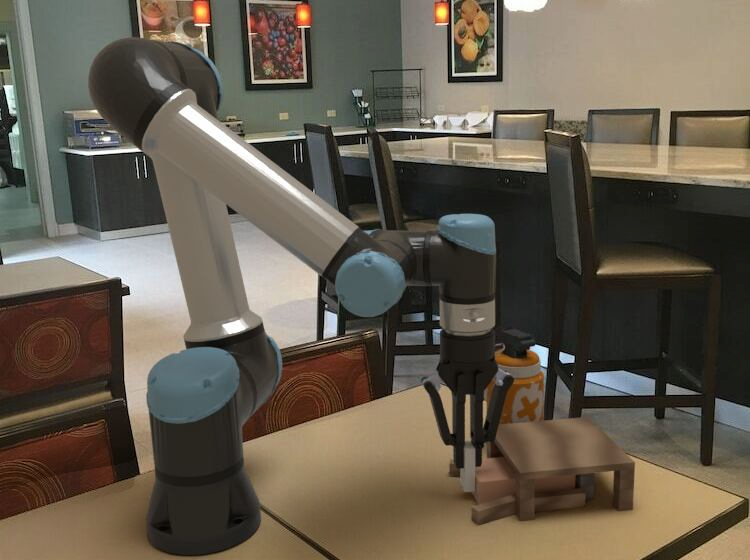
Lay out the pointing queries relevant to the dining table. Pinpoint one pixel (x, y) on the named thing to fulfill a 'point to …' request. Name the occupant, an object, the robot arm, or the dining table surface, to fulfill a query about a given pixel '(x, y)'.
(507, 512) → the shelf
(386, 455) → the dining table surface
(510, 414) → the canister
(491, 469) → the pink foam brick
